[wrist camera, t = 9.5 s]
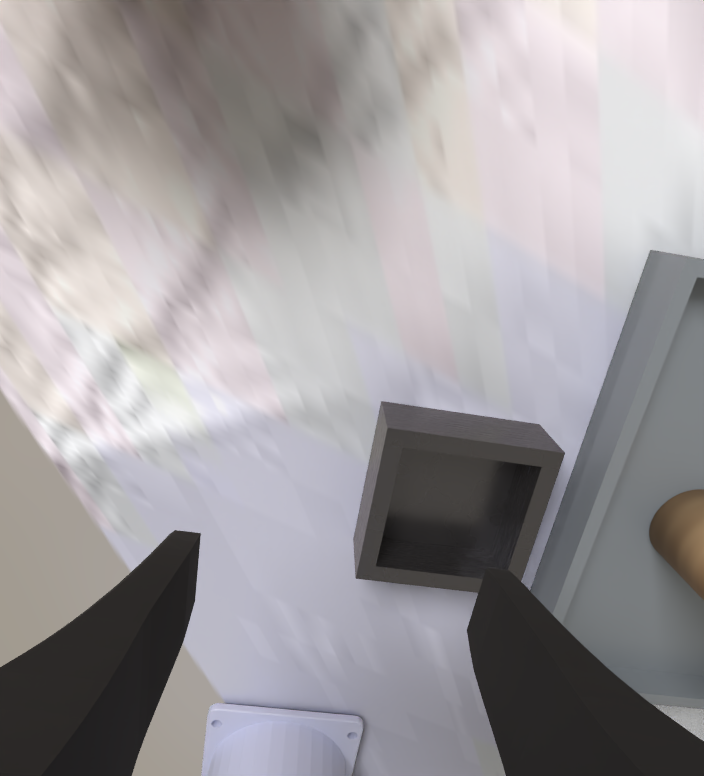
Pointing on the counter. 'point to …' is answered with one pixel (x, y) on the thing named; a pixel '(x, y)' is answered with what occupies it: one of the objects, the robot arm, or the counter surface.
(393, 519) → the pin holder
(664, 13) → the counter surface
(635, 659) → the slate tray
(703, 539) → the oak dowel
